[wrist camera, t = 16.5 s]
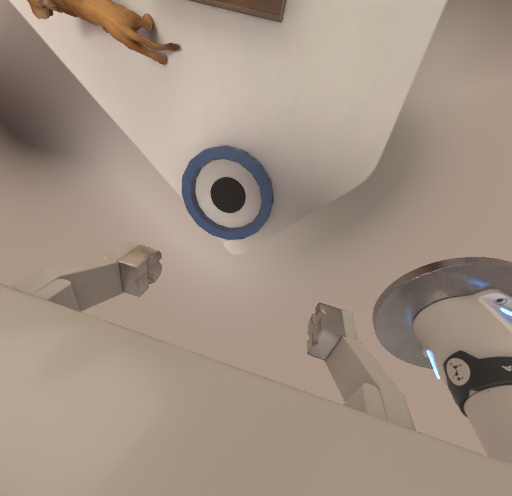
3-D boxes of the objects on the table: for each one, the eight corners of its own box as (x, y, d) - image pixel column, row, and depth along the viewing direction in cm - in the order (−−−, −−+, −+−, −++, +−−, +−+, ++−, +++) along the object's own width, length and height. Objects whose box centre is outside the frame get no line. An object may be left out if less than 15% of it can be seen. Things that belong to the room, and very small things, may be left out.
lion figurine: (80, 33, 30) (2, 5, 22) (75, -23, 27) (-17, -78, 20) (179, 71, 30) (134, 55, 22) (184, 19, 27) (134, -20, 19)
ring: (284, 161, 33) (283, 163, 31) (260, 245, 41) (259, 250, 39) (189, 134, 34) (183, 135, 32) (184, 221, 42) (180, 225, 40)
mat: (248, 183, 35) (247, 183, 35) (241, 216, 39) (241, 217, 38) (213, 172, 36) (212, 173, 35) (209, 206, 39) (208, 207, 39)
